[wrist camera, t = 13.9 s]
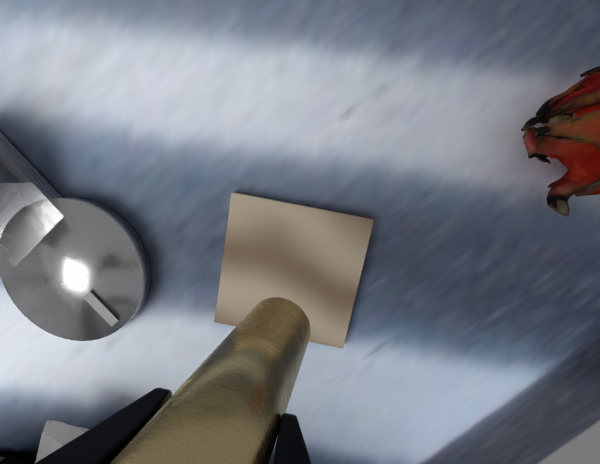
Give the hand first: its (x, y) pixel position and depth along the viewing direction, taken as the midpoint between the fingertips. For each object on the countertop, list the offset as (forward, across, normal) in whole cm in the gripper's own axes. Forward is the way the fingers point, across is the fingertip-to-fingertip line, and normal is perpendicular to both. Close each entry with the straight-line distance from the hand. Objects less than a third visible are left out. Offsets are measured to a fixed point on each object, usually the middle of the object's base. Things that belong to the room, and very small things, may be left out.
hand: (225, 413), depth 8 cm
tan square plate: (+13, 0, 0) cm, 13 cm away
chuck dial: (+13, +18, +1) cm, 22 cm away
